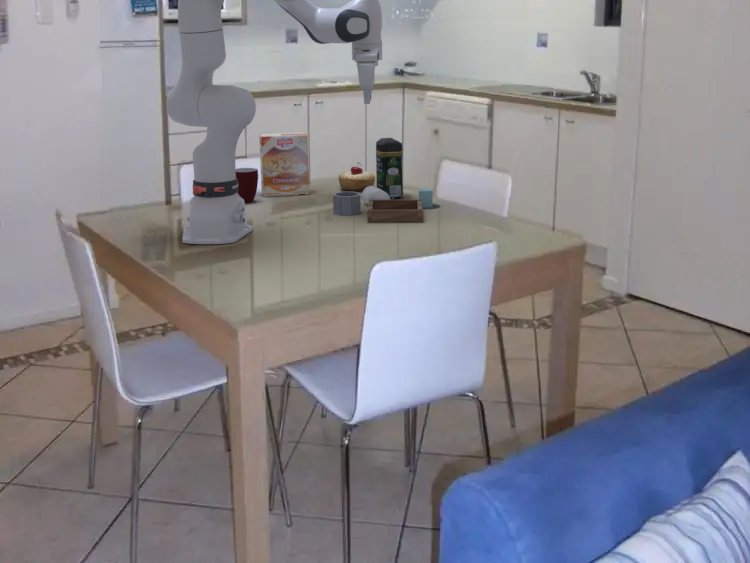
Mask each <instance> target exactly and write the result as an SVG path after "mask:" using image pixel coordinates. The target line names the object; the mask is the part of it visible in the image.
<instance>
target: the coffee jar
mask: <svg viewBox="0 0 750 563" xmlns="http://www.w3.org/2000/svg"><path fill="white" fill-rule="evenodd" d="M403 152H404V151H403V143H402V142H400V141H399V140H398V139H397V140H396V139H395V138H393V137H381V138H379V139H378V140H377V141H376V142H375V159H376V160H375V162H376V163H375V167H376V168H375V169H376V171H375V173H376V174H375V175H376V187H377V188H379V189H381V190H383V191H384V192H386V193H387V194H388V195H389V197H390V200H393V199H392V198H396V199H399V198H402V197H403V195H404V193H403V192H404V189H403V185H404V184H403Z"/></svg>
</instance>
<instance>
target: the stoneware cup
mask: <svg viewBox="0 0 750 563" xmlns="http://www.w3.org/2000/svg"><path fill="white" fill-rule="evenodd" d="M361 199H362V192H357V191H338V192H333V194H332V200H333V201H332V202H333V205H332V206H333V208H332V209H333V215H337V216H356V215H360V214H361V212H362V206H361V205H362V202H361V201H362V200H361Z"/></svg>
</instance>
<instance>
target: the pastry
mask: <svg viewBox="0 0 750 563" xmlns="http://www.w3.org/2000/svg"><path fill="white" fill-rule="evenodd" d="M356 164H357V165H356V166H352V167H351V168H350V171H347V172H340V174H339V175H338V183H339V185H340V188H341V189H342V190H344V191H347V190H348V191H347V192H357V191H359V192H363V190H364V189H365V188H366V187H368V186H374V185H375V182H376V176H375V175H374V174H373V173H371V172H369V171H363V169H362V168H361V167H359V165H360V166H362V164H361V163H360V162H359V161H358V162H357V163H356Z"/></svg>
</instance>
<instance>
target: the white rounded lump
mask: <svg viewBox="0 0 750 563" xmlns="http://www.w3.org/2000/svg"><path fill="white" fill-rule="evenodd" d="M361 199H362V200H361V201H363V203H364V204H365V205H367V206H368V204H369V200H391V199H390V197H389V195H388V194H387V193H386V192H384V191H383V190H381V189H379V188H377V186H376V185H375V186H368V187H366V188H365V189H364V190H363V191H361Z"/></svg>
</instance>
